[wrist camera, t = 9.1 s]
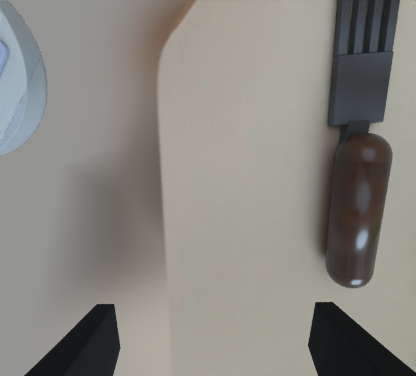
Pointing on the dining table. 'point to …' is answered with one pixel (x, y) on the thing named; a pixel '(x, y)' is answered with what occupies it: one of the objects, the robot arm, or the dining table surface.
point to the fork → (359, 138)
